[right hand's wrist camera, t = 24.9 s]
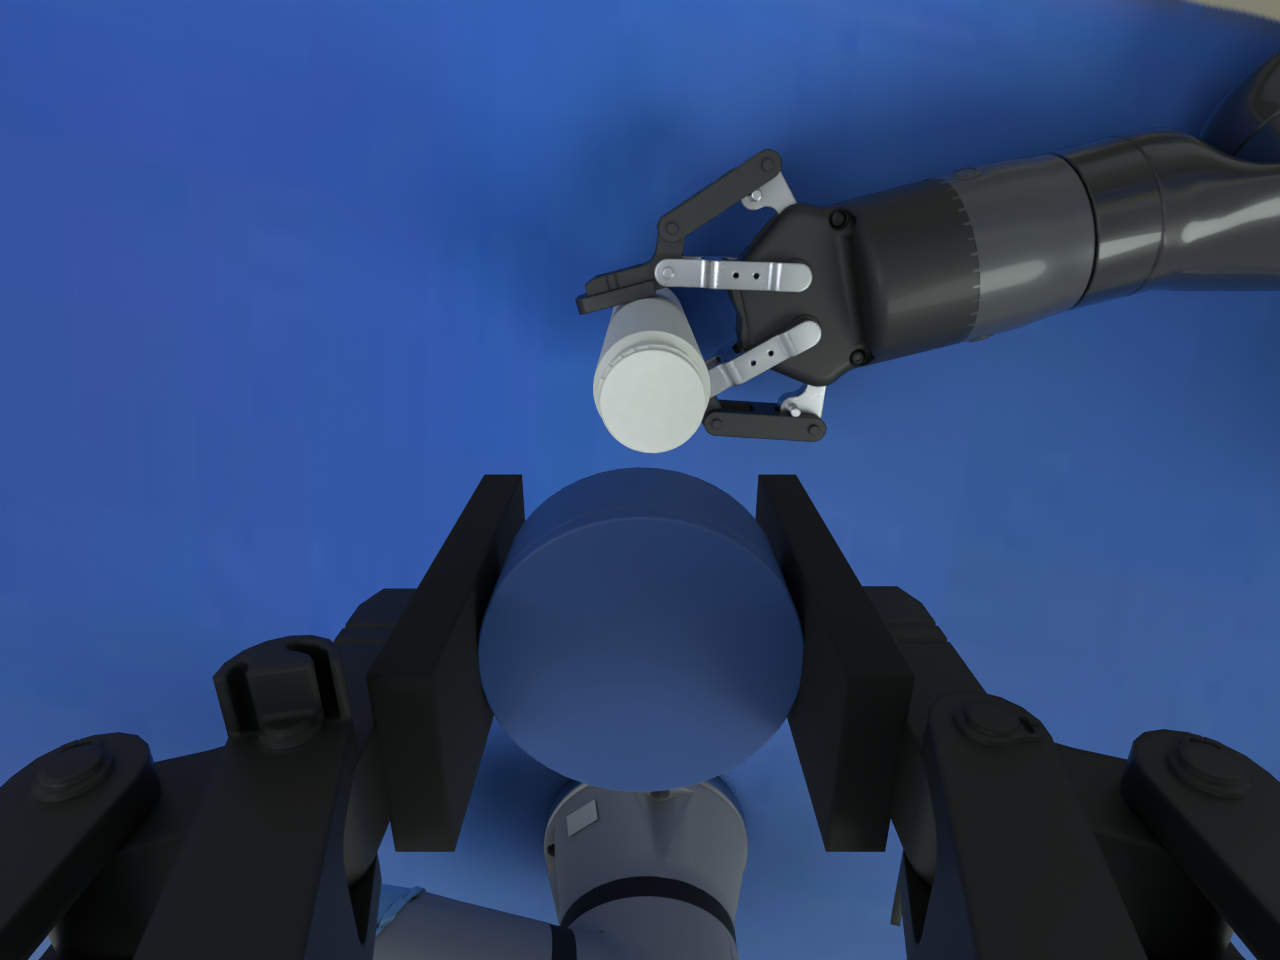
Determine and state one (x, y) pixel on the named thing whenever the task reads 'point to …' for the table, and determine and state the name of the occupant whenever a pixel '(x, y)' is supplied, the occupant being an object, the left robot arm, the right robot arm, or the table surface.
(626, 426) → the light grey cylinder
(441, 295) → the table surface
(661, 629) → the lid
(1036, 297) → the left robot arm
